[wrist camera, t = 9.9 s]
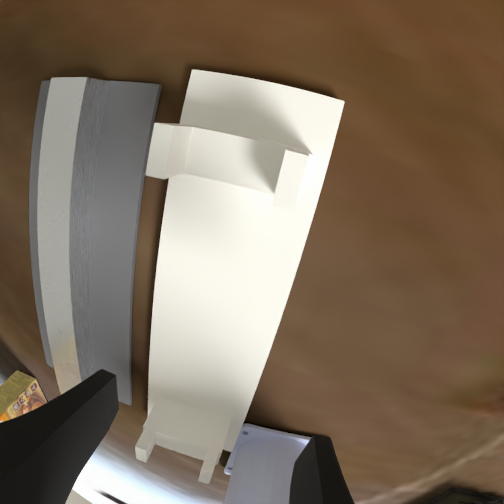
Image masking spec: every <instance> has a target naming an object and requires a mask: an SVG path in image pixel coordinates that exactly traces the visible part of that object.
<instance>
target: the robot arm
mask: <svg viewBox="0 0 504 504" xmlns="http://www.w3.org/2000/svg"><path fill="white" fill-rule="evenodd" d="M118 410H119V404H118V392H117V378H116V375H115V374H113V373H111V372H108V371H106V370H104V369H100V370H98V371H97V372H96V373H94V374H93V375H91V376H90V377H88V378H87V379H85V380H84V381H82V382H81V383H79V384H77V385H76V386H74V387H73V388H71V389H70V390H68V391H66V392H65V393H63V394H61V395H60V396H58V397H56V398H55V399H53V400H51V401H49V402H47V403H45V404H44V405H42V406H40V407H38V408H36V409H34V410H32V411H30V412H27V413H25V414H23V415H20V416H18V417H15V418H13V419H10V420H7V421H4V422H1V423H0V504H65V502H66V500H67V498H68V496H69V494H70V492H71V489H72V487H73V485H74V483H75V481H76V479H77V477H78V476H79V474H80V472H81V470H82V469H83V467H84V466H85V464H86V463H87V461H88V460H89V458H90V457H91V455H92V454H93V452H94V451H95V449H96V448H97V447H98V445H99V444H100V442H101V441H102V439H103V438H104V436H105V435H106V433H107V431H108V430H109V428H110V426H111V424H112V422H113V420H114V418H115V416H116V414H117V412H118ZM224 472H225V473H226V474H228V475H231V477H230V480H229V484H228V488H227V492H226V496H225V500H224V503H223V504H354V502H353V499H352V497H351V495H350V492H349V490H348V487H347V485H346V482H345V480H344V477H343V474H342V472H341V469H340V466H339V463H338V460H337V457H336V454H335V451H334V447H333V444H332V441H331V439H330V437H325V436H319V435H313V436H312V437H307V436H302V435H296V434H291V433H287V432H282V431H277V430H273V429H268V428H264V427H260V426H256V425H252V424H247V423H245V424H243V425H242V428H241V431H240V433H239V436H238V438H237V441H236V443H235V446H234V448H233V451H232V452H231V454H230V456H229V459H228V461H227V464H226V466H225V469H224Z"/></svg>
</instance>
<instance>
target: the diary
mask: <svg viewBox="0 0 504 504" xmlns="http://www.w3.org/2000/svg"><path fill="white" fill-rule="evenodd" d="M423 504H504V498H502V497H497V496H491V495H486V494H483V493H479V492H477V494H475V493H471V492H469V491H468V490H466V489H463V488H460V487H456V486H454V487H452V488H450V489H449V490H447V491H445V492H443V493H442V494H440V495H438V496H436V497H434V498H433V499H431V500H429V501H427V502H425V503H423Z"/></svg>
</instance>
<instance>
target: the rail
mask: <svg viewBox="0 0 504 504" xmlns="http://www.w3.org/2000/svg"><path fill="white" fill-rule="evenodd" d="M109 84H110V81H105V80H100V79H95V78H89V77H57V78H51V82H50V87H49V92H48V98H47V103H46V110H45V116H44V123H43V131H42V139H41V149H40V160H39V175H38V199H37V231H38V256H39V270H40V282H41V291H42V300H43V308H44V315H45V322H46V328H47V334H48V340H49V345H50V350H51V355H52V360H53V365H54V369H55V374H56V378H57V382H58V386H59V390H60V394H63V393H65V392H66V391H68V390H70V389H71V388H73V387H74V386H76V385H77V384H79V383H81V382H82V381H84V380H85V379H87V378H88V377H90V376H91V375H93V374H94V373H96V370H95V361H94V351H93V339H92V325H91V305H90V233H91V214H92V200H93V188H94V178H95V168H96V160H97V152H98V145H99V138H100V132H101V125H102V120H103V114H104V108H105V103H106V98H107V93H108V89H109Z"/></svg>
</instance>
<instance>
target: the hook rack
mask: <svg viewBox="0 0 504 504" xmlns="http://www.w3.org/2000/svg"><path fill="white" fill-rule="evenodd" d="M344 102H345V101H342V100H338V99H335V98H332V97H328V96H325V95H321V94H317V93H314V92H310V91H306V90H302V89H298V88H294V87H290V86H285V85H281V84H277V83H272V82H267V81H262V80H257V79H252V78H247V77H241V76H236V75H229V74H223V73H216V72H209V71H202V70H194V69H192V72H191V76H190V80H189V84H188V88H187V92H186V97H185V101H184V105H183V110H182V114H181V119H180V124H175V123H171V124H169V123H154V128H153V134H152V139H151V144H150V150H149V156H148V162H147V168H146V175H147V176H151V177H156V178H160V179H167V178H169V182H168V188H167V194H166V200H165V207H164V214H163V221H162V228H161V235H160V243H159V251H158V259H157V268H156V278H155V288H154V298H153V310H152V323H151V338H150V356H149V381H148V418H147V419H146V421H145V423H144V425H143V433H142V434H141V436H140V438H139V440H138V442H137V444H136V446H135V450H136V459H138V460H140V461H143V462H145V463H146V462H147V460H148V458H149V456H150V454H151V452H152V450H153V448H154V446H155V444H157V445H159V446H162V447H165V448H167V449H170V450H173V451H176V452H179V453H182V454H185V455H188V456H191V457H194V458H197V459H200V460H204V463H203V466H202V469H201V472H200V476H199V480H198V481H200V482H203V483H207V484H209V482H210V479H211V476H212V474H213V470H214V467H215V464H218V462H219V459H220V456H221V453H222V450H226V451H230V452H232V451H233V448H234V446H235V443H236V441H237V438H238V436H239V433H240V431H241V428H242V425H243V423H244V420H245V418H246V415H247V412H248V410H249V407H250V404H251V402H252V399H253V396H254V394H255V391H256V388H257V385H258V383H259V380H260V377H261V374H262V372H263V369H264V366H265V363H266V360H267V358H268V355H269V352H270V349H271V346H272V343H273V340H274V338H275V335H276V332H277V329H278V326H279V323H280V320H281V317H282V314H283V311H284V308H285V305H286V302H287V299H288V296H289V293H290V290H291V287H292V284H293V280H294V277H295V274H296V271H297V268H298V265H299V262H300V258H301V255H302V252H303V249H304V245H305V242H306V239H307V236H308V232H309V229H310V226H311V222H312V219H313V216H314V212H315V209H316V205H317V202H318V198H319V195H320V192H321V188H322V184H323V181H324V177H325V174H326V170H327V167H328V163H329V159H330V156H331V152H332V148H333V144H334V141H335V137H336V133H337V129H338V125H339V122H340V118H341V114H342V110H343V106H344Z"/></svg>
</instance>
